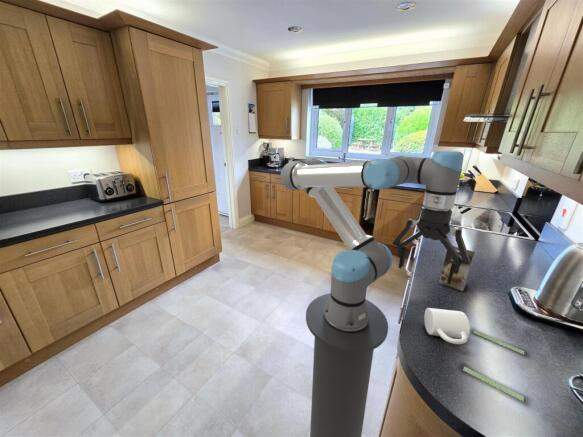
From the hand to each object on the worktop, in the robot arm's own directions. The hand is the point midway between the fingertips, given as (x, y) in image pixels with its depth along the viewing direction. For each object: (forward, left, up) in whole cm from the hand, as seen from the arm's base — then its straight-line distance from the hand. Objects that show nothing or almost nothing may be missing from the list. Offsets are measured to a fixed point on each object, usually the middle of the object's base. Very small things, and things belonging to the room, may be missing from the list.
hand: (423, 273), depth 75 cm
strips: (+21, +1, -20) cm, 29 cm away
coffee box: (+4, +37, -20) cm, 42 cm away
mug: (+9, +1, -20) cm, 22 cm away
